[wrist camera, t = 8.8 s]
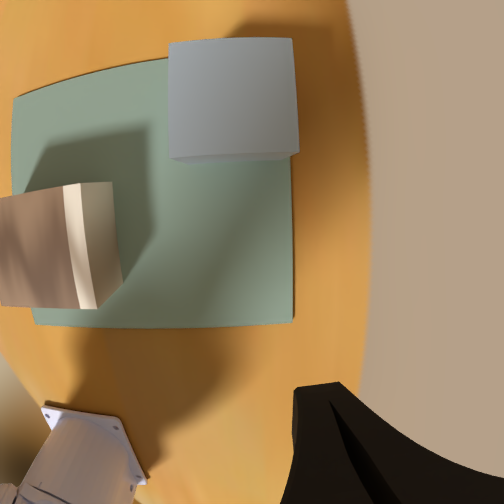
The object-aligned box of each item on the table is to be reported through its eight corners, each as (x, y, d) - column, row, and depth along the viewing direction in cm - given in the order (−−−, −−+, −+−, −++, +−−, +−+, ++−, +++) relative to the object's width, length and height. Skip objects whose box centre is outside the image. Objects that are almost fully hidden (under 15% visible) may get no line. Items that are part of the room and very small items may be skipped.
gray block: (281, 160, 16) (299, 152, 11) (188, 164, 16) (169, 158, 11) (276, 74, 15) (292, 38, 10) (186, 78, 15) (168, 43, 10)
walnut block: (97, 309, 14) (1, 305, 13) (123, 283, 17) (35, 284, 17) (80, 183, 12) (-17, 202, 12) (112, 181, 16) (22, 196, 16)
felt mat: (291, 320, 19) (292, 322, 18) (37, 322, 18) (35, 324, 18) (283, 54, 15) (283, 52, 15) (16, 99, 14) (13, 98, 14)
